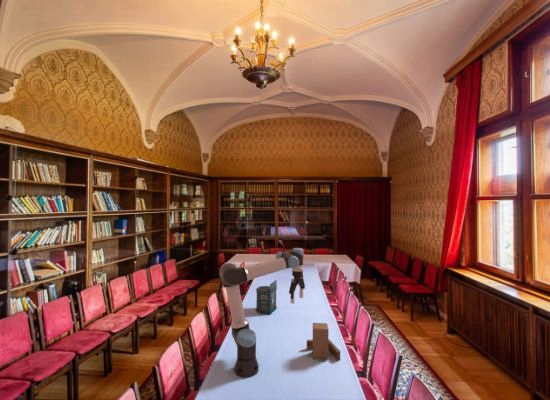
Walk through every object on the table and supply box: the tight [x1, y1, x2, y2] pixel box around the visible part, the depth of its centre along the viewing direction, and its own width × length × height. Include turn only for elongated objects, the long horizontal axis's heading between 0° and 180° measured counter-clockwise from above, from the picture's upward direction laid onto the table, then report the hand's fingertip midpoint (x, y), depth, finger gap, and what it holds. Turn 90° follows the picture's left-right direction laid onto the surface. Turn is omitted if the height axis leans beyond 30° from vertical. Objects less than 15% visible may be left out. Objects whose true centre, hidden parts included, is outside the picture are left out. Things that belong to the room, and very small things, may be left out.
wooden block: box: [312, 322, 329, 360], centre depth 204 cm, size 10×10×20 cm
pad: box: [307, 350, 332, 363], centre depth 204 cm, size 12×12×1 cm
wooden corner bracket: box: [306, 338, 341, 361], centre depth 206 cm, size 16×20×6 cm
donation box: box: [255, 279, 278, 316], centre depth 283 cm, size 16×16×28 cm
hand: (296, 300), depth 211 cm, fingers open, 13 cm apart
